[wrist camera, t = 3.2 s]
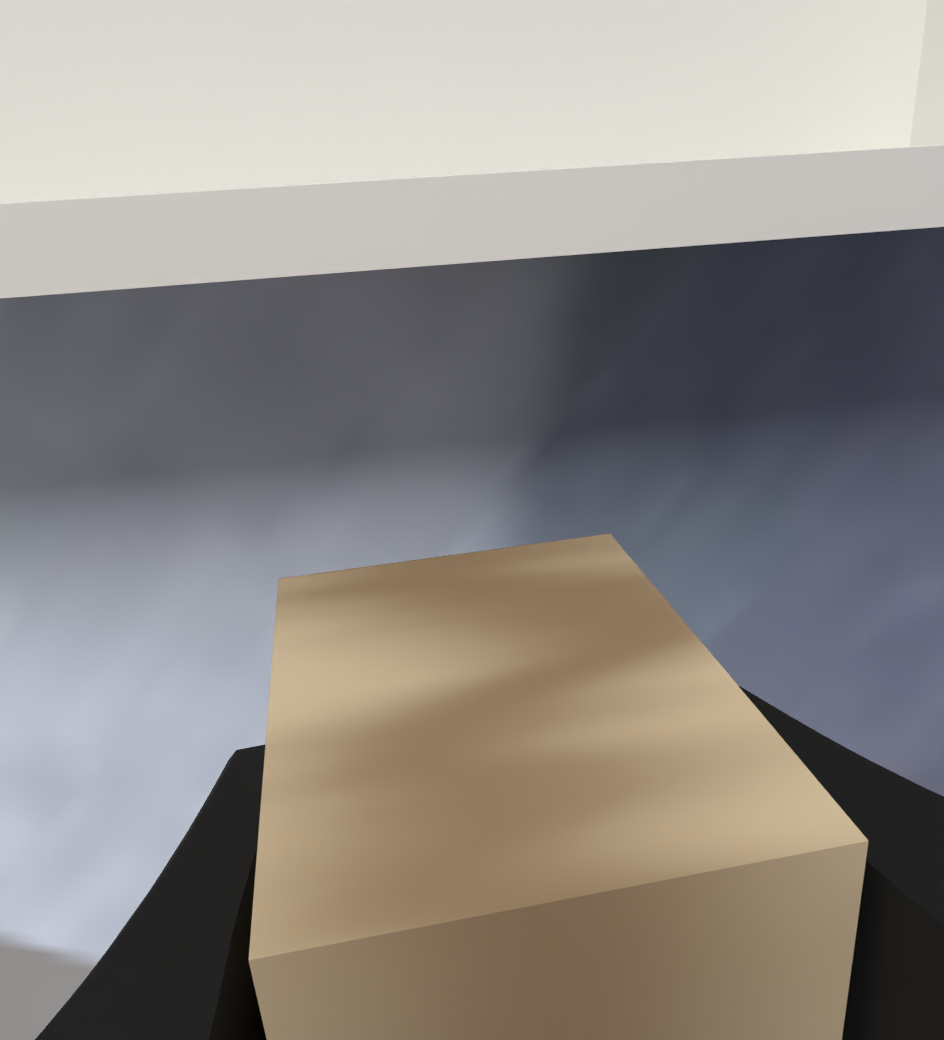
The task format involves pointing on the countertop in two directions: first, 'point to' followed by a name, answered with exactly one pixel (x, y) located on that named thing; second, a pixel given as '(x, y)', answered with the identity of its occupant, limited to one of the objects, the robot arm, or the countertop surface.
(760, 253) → the countertop surface
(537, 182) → the bin
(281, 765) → the maple block
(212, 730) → the countertop surface
